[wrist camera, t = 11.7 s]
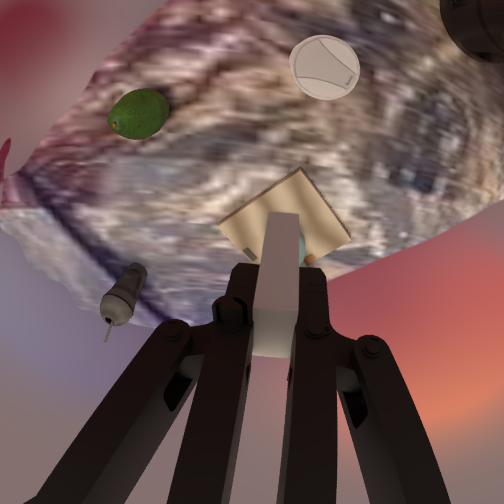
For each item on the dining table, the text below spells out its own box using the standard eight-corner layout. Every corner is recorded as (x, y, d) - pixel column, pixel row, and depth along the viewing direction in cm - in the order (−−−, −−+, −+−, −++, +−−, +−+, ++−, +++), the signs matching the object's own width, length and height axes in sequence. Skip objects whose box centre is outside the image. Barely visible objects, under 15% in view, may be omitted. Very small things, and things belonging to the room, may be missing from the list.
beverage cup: (133, 252, 64) (90, 320, 48) (158, 273, 66) (123, 343, 50) (119, 268, 67) (78, 333, 51) (142, 288, 70) (108, 354, 54)
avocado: (135, 83, 43) (96, 95, 33) (179, 87, 43) (147, 98, 33) (132, 127, 47) (94, 149, 38) (173, 133, 47) (142, 156, 38)
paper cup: (351, 57, 37) (374, 57, 26) (327, 98, 41) (341, 114, 30) (303, 32, 36) (308, 21, 24) (280, 74, 40) (276, 80, 29)
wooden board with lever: (300, 167, 48) (300, 176, 45) (350, 235, 55) (353, 248, 51) (219, 222, 57) (214, 234, 53) (272, 278, 63) (270, 291, 60)
